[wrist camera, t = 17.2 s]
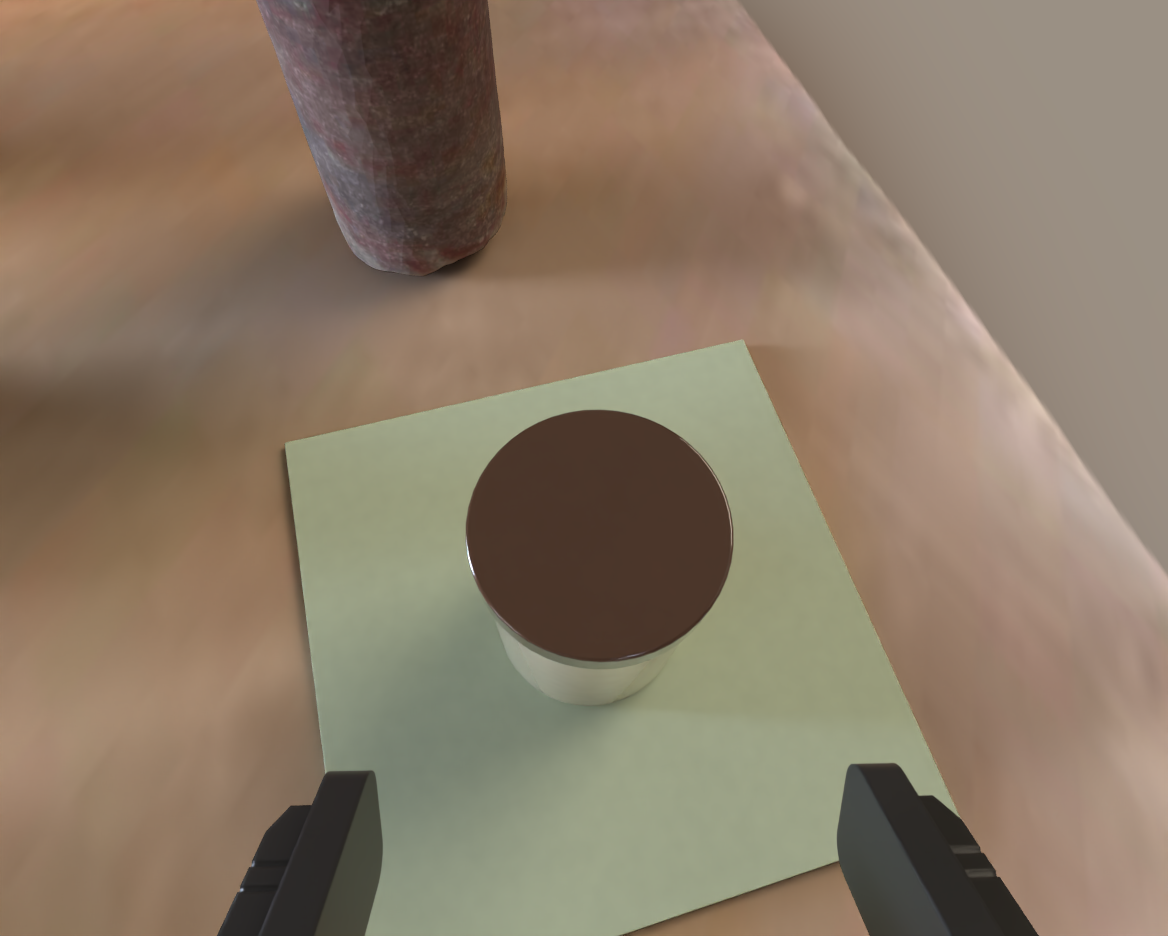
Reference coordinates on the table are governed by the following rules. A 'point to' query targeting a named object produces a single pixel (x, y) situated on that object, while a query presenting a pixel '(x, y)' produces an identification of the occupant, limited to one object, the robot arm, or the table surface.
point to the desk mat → (575, 732)
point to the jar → (597, 551)
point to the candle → (398, 122)
